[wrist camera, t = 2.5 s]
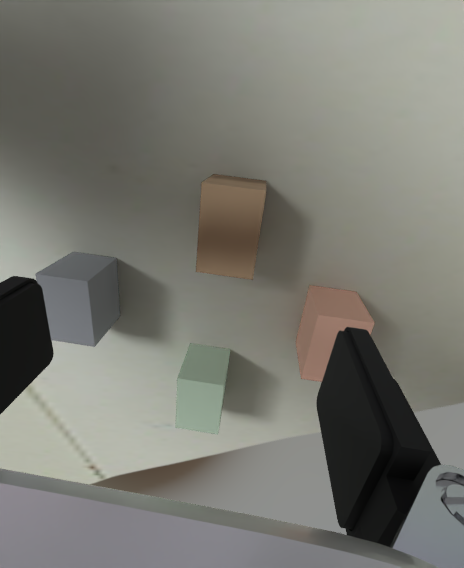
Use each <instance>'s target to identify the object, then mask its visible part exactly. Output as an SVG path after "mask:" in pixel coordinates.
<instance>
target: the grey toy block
mask: <svg viewBox="0 0 464 568" xmlns="http://www.w3.org/2000/svg"><path fill="white" fill-rule="evenodd" d="M36 279H37V283H38V284H39V285H41V287H42V290H43V295H44V301H45V307H46V313H47V318H48V324H49V330H50V336H51V340H54V341H61V342H67V343H74V344H80V345H87V346H93V347H95V346H96V345H97V343H98V342H99V341H100V340H101V339H102V337H103V336H104V335H105V334H106V332H107V331H108V330H109V329H110V328H111V326H112V325H113V324H114V323H115V321H116V320H117V319H118V318H119V317H120V303H119V286H118V270H117V258H114V257H107V256H99V255H92V254H85V253H78V252H72V253H70V254H68V255H67V256H65V257H63V258H62V259H60V260H58V261H56V262H55V263H53V264H51V265H50V266H48V267H46V268H45V269H43V270H41V271H39V272H38V273H36Z"/></svg>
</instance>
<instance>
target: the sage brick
mask: <svg viewBox="0 0 464 568" xmlns="http://www.w3.org/2000/svg"><path fill="white" fill-rule="evenodd" d="M229 357H230V349H225V348H218V347H212V346H205V345H199V344H192V343H190V346H189V348H188V351H187V354H186V356H185V359H184V362H183V364H182V367H181V370H180V373H179V375H178V378H177V400H176V425H175V428H181V429H188V430H194V431H200V432H206V433H212V434H218V431H219V425H220V419H221V413H222V407H223V401H224V395H225V387H226V380H227V372H228V364H229Z"/></svg>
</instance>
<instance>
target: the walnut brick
mask: <svg viewBox="0 0 464 568" xmlns="http://www.w3.org/2000/svg"><path fill="white" fill-rule="evenodd" d="M265 197H266V181H263V180H255V179H248V178H240V177H232V176H224V175H216V174H213V175H212V176H210V177H209V178H208V179H206V180H205V181H203V182H202V183H201V199H200V215H199V231H198V247H197V263H196V272H202V273H209V274H216V275H223V276H230V277H237V278H244V279H251V280H253V275H254V268H255V262H256V255H257V249H258V242H259V236H260V229H261V223H262V216H263V210H264V203H265Z"/></svg>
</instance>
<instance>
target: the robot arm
mask: <svg viewBox="0 0 464 568" xmlns="http://www.w3.org/2000/svg"><path fill="white" fill-rule="evenodd" d="M52 358H53V347H52V341H51V336H50V330H49V324H48V318H47V313H46V307H45V301H44V295H43V290H42V287H41V285H39V284H38V283H37V281H36V280H34V279H31V278H25V277H18V276H13V277H10V278H9V279H7V280H5V281H3V282H1V283H0V414H1V413H2V412H3V411H4V410H5V409H6V408H7V407H8V406H9V405H10V404H11V403H12V402H13V401H14V400H15V399H16V398H17V397H18V396H19V395H20V394H21V393H22V392H23V391H24V389H25V388H26V387H27V386H28V385H29V384H30V383H31V382H32V381H33V380H34V379H35V378H36V377H37V376H38V375H39V374H40V373H41V372H42V371H43V370H44V369H45V368H46V367H47V366H48V365H49V364H50V362H51V360H52ZM317 411H318V416H319V422H320V427H321V433H322V438H323V444H324V449H325V454H326V460H327V465H328V471H329V476H330V481H331V487H332V492H333V498H334V502H335V509H336V514H337V519H338V523H339V525H340V527H341V528H346V532H347V535H344V534H340V533H336V532H332V531H327V530H322V529H317V528H312V527H307V526H302V525H298V524H293V523H288V522H283V521H279V520H273V519H268V518H264V517H259V516H254V515H249V514H243V513H238V512H233V511H227V510H222V509H216V508H211V507H206V506H201V505H196V504H190V503H185V502H180V501H174V500H169V499H164V498H159V497H153V496H148V495H142V494H137V493H132V492H126V491H120V490H115V489H110V488H104V487H99V486H94V485H88V484H83V483H77V482H72V481H66V480H61V479H55V478H50V477H44V476H39V475H33V474H28V473H22V472H17V471H11V470H6V469H0V568H464V470H463V469H459V468H457V467H454V466H450V465H441V464H440V462H439V460H438V458H437V456H436V454H435V452H434V451H433V449H432V447H431V445H430V443H429V441H428V439H427V437H426V435H425V434H424V432H423V430H422V428H421V426H420V424H419V422H418V420H417V419H416V417H415V415H414V413H413V411H412V409H411V407H410V405H409V404H408V402H407V400H406V398H405V396H404V394H403V392H402V390H401V389H400V387H399V385H398V383H397V382H396V380H395V379H393V378H392V376H391V374H390V372H389V370H388V368H387V366H386V364H385V362H384V361H383V359H382V357H381V355H380V353H379V351H378V349H377V347H376V345H375V343H374V341H373V340H372V338H371V336H370V334H369V332H368V331H367V330H365V329H359V328H352V327H346V328H345V330H344V331H341V330H340V331H339V332H338V333H337V336H336V339H335V342H334V346H333V349H332V352H331V355H330V358H329V361H328V364H327V368H326V371H325V374H324V377H323V380H322V383H321V386H320V390H319V393H318V396H317Z"/></svg>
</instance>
